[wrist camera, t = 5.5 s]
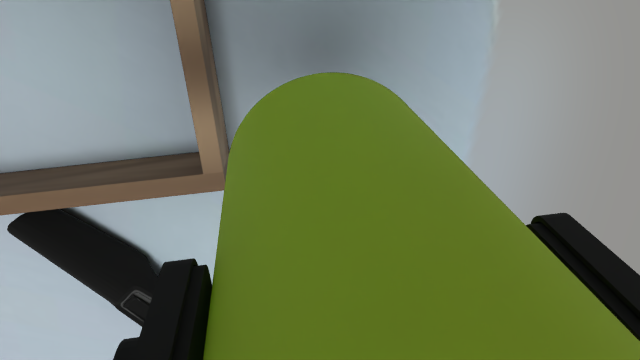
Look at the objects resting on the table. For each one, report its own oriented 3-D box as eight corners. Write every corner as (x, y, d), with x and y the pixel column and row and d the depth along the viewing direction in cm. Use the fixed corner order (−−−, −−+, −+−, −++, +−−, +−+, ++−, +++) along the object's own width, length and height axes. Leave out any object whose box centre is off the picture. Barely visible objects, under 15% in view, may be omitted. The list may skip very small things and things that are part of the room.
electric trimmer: (54, 177, 29) (28, 201, 26) (255, 323, 34) (253, 357, 31) (17, 220, 29) (-12, 247, 26) (218, 357, 34) (212, 392, 31)
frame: (-209, -56, 23) (-289, -61, 19) (189, -90, 23) (176, -99, 20) (-91, 200, 28) (-139, 230, 25) (231, 165, 29) (226, 189, 25)
